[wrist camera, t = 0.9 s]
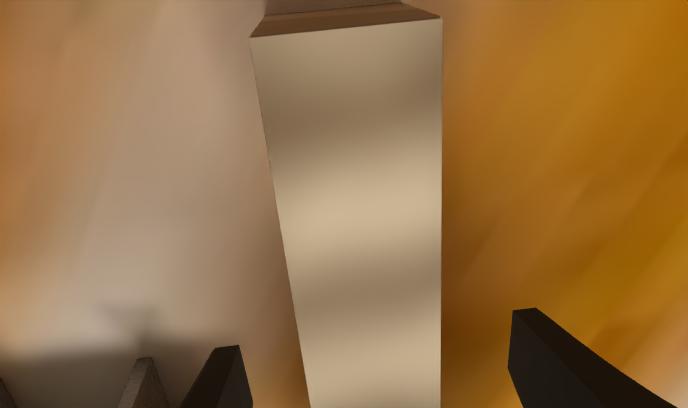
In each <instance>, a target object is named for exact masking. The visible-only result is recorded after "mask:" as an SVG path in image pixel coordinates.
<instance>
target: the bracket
mask: <svg viewBox="0 0 688 408" xmlns="http://www.w3.org/2000/svg"><path fill="white" fill-rule="evenodd" d="M0 408H16V406H15V404H14V402H13V401H12V399H11V397H10V395H9V394H8V392H7V390H6V388H5V387H4V385H3V383H2V381H1V380H0ZM117 408H169V406H168V403H167V400H166V397H165V395H164V392H163V389H162V386H161V384H160V381H159V378H158V375H157V373H156V370H155V367H154V364H153V362H152V359H151V358H144V359H137V361H136V364H135V366H134V369H133V371H132V374H131V376H130V378H129V381H128V383H127V386H126V388H125V390H124V393H123V395H122V398H121V400H120V402H119V405H118V407H117Z"/></svg>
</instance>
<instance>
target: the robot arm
mask: <svg viewBox="0 0 688 408" xmlns="http://www.w3.org/2000/svg"><path fill="white" fill-rule="evenodd" d="M508 370H509V373H510V375H511V378H512V381H513V383H514V386H515V389H516V391H517V393H518V396H519V398H520V401H521V403H522V406H523V407H524V408H677V407H676V406H674V405H672V404H670V403H669V402H667V401H665V400H664V399H662V398H660V397H659V396H657V395H656V394H654V393H652V392H651V391H649V390H648V389H646V388H645V387H643V386H642V385H640V384H639V383H637V382H636V381H634V380H633V379H631V378H630V377H628V376H627V375H625V374H624V373H622V372H621V371H619V370H618V369H616V368H615V367H614V366H612V365H611V364H609V363H608V362H607V361H605V360H604V359H602V358H601V357H600V356H598V355H597V354H596V353H594V352H593V351H592V350H590V349H589V348H588V347H586V346H585V345H584V344H582V343H581V342H580V341H578V340H577V339H576V338H574V337H573V336H572V335H571V334H569V333H568V332H567V331H565V330H564V329H563V328H562V327H560V326H559V325H558V324H556V323H555V322H554V321H553V320H551V319H550V318H549V317H547V316H546V315H545V314H544V313H542V312H541V311H540V310H538V309H537V308H529V309H521V310H513V316H512V327H511V337H510V348H509V359H508ZM179 408H253V400H252V396H251V391H250V387H249V383H248V379H247V375H246V371H245V367H244V363H243V359H242V355H241V351H240V347H239V345H234V346H227V347H219V348H215V349H214V350H213V351H212V353H211V354H210V356H209V358H208V360H207V361H206V363H205V365H204V367H203V369H202V370H201V372H200V374H199V375H198V377H197V379H196V381H195V382H194V384H193V386H192V387H191V389H190V390H189V392H188V394H187V395H186V397H185V398H184V400H183V402H182V403H181V405H180V406H179Z"/></svg>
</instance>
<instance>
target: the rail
mask: <svg viewBox="0 0 688 408" xmlns="http://www.w3.org/2000/svg"><path fill="white" fill-rule="evenodd" d="M249 43H250V49H251V55H252V61H253V67H254V73H255V79H256V85H257V91H258V97H259V103H260V109H261V114H262V120H263V126H264V132H265V138H266V144H267V150H268V156H269V162H270V168H271V174H272V180H273V186H274V192H275V198H276V204H277V210H278V215H279V221H280V227H281V233H282V239H283V245H284V251H285V257H286V263H287V269H288V275H289V281H290V287H291V293H292V299H293V305H294V311H295V317H296V322H297V328H298V334H299V340H300V346H301V352H302V358H303V364H304V370H305V376H306V382H307V388H308V394H309V400H310V406H311V408H440V373H441V213H442V53H443V18H440V16H438V15H435V14H432V13H429V12H426V11H424V10H421V9H418V8H415V7H412V6H409V5H406V4H403V3H390V4H380V5H370V6H360V7H350V8H340V9H330V10H320V11H310V12H300V13H290V14H280V15H270V16H264V18H263V19H262V21H261V22H260V23H259V25H258V26H257V27H256V29H255V30H254V32H253V33H252V34H251V36H250V37H249Z"/></svg>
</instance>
